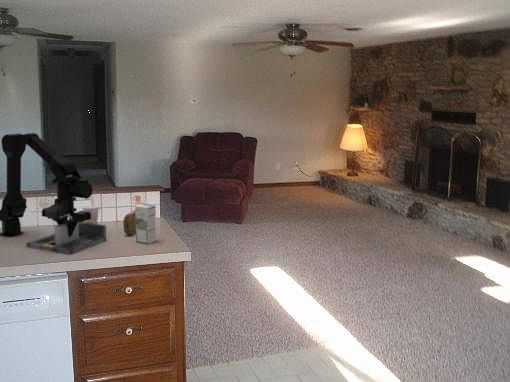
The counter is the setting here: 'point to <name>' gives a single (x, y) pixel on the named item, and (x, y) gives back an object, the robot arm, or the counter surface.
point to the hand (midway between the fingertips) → (67, 236)
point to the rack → (85, 234)
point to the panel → (65, 234)
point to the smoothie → (92, 212)
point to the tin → (130, 223)
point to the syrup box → (145, 223)
